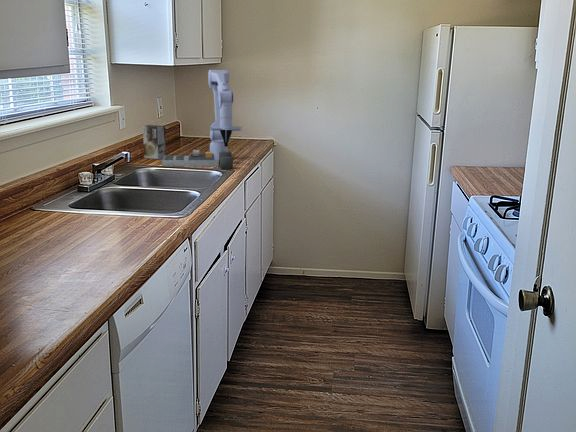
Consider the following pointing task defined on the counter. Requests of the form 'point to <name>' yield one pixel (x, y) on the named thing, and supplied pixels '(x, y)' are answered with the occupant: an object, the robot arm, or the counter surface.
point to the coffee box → (154, 141)
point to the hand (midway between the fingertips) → (225, 146)
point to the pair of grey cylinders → (226, 160)
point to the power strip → (191, 160)
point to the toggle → (208, 154)
